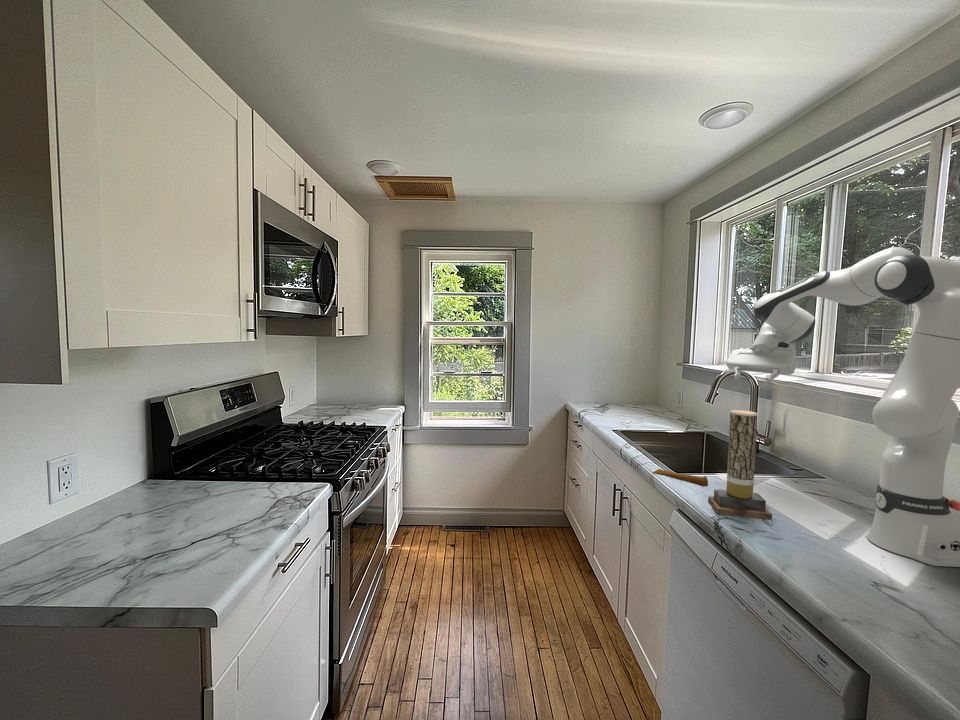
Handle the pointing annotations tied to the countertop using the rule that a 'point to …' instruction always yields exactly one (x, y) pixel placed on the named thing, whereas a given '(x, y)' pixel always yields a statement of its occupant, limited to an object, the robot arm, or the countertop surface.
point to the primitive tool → (684, 477)
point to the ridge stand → (739, 505)
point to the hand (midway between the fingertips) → (751, 379)
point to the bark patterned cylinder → (741, 453)
